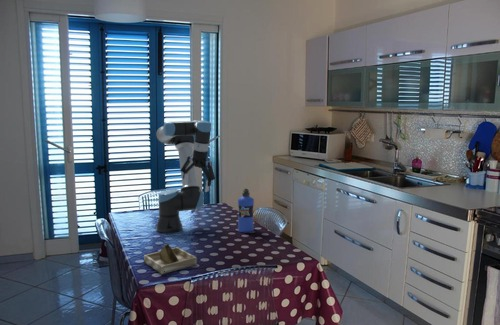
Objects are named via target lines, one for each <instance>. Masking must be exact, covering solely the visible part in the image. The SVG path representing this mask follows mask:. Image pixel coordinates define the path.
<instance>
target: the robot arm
mask: <svg viewBox="0 0 500 325" xmlns="http://www.w3.org/2000/svg"><path fill="white" fill-rule="evenodd" d="M211 132H212V123H211V122H210V121H207V120H197V119H194V120H192V121H165V122H164V123H163V126H160V127H159V128H158V129H157V130H156V132H155V136H156V139H157V141H159V142H160V143H162V144H165V145H174V146H175V149H176V150H178V159H179V168H180V176H181V183H182V187H181V188H180V190H179V189H177V188H175V189H174V188H172V189H166V190H163V191H161V192H160V193H159V194H158V200H157V201H158V213H159V214H158V216H159V217H158V220H157V224H156V226H155V227H156V231H157V232H159V233H162V234H170V233H177V232H179V231H181V230H183V223H182V222H181V218H180V217H181V216H180V212H184V211H185V212H187V211H195V210H196V211H197V210H200V209H202V208H203V206H204V203H205V202H204V200H205V194H204V192H205V193H207V192H209V191H210V186H212V181H214V180H216V176H215V172H214V169H213V165H212V163H213V162H212V161H208V160H207V159H208V151H209V144H210V139H211V138H210V137H211ZM195 168H198V169H201V170H202V171H203V174H204V175H205V177H206V180H205V187H204V188H205V189H204V191H203V190H202V189H201V188H200V186H199V185H198V184H197V183H198V182H197V177H196V176H197V175H196V170H195Z"/></svg>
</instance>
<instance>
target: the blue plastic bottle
mask: <svg viewBox="0 0 500 325" xmlns="http://www.w3.org/2000/svg"><path fill="white" fill-rule="evenodd" d="M241 195H242V196H240V197H239V198H237V205H238V215H237V216H238V217H237V218H238V219H237V220H238V222H237V223H238V224H237V231H238V232H239V233H247V234H248V233H252V232H254V211H253V210H254V206H255V205H254V204H255V199H254V197H251V196H250V190H249V189H248V188H244V189H243V190H242V193H241Z"/></svg>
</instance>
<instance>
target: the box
mask: <svg viewBox="0 0 500 325" xmlns="http://www.w3.org/2000/svg"><path fill="white" fill-rule="evenodd" d="M171 249H172V250H173V252H174V253H175V255H176V257H177V259H178V262H174V263H171V264H168V263H166V262H165V261H163V260H161V259H160V252H161V250H159V251H156V252H152V253H147V254H144V255H143V259H144V260H143V263H144V264H146V265H147V266H149V268H152V269H153V270H155V271H156V272H158V273H159V274H161V275H164V274H168V273H171V272H172V273H173V272H175V271H179V270H182V269H186V268H190V267H193V266H196V265H197V261H198V260H197V259H198V258H197V256H195V255H193V254H191V253H189V252H188V251H186V250H185V249H182V248H180V247H179V246H177V247H173V248H171ZM153 266H154V267H153ZM164 271H165V272H164Z"/></svg>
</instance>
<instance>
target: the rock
mask: <svg viewBox="0 0 500 325" xmlns="http://www.w3.org/2000/svg"><path fill="white" fill-rule="evenodd" d="M160 251H161V252H160V259H161V260H163V261H165V262H166V263H168V264H171V263H174V262H178V259H177V257H176V255H175V253H174V252H173V250H172V249H171V246H170V245H169V243H166V244H165V245H164V246H162V248H161V249H160Z"/></svg>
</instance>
